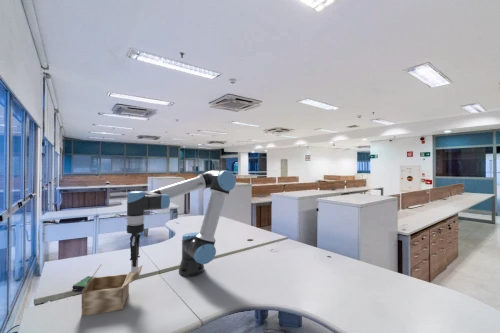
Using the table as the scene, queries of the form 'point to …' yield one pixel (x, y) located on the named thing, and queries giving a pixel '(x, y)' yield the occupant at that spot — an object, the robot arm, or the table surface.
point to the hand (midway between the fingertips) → (134, 272)
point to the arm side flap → (132, 276)
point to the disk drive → (82, 283)
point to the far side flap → (91, 278)
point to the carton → (105, 294)
